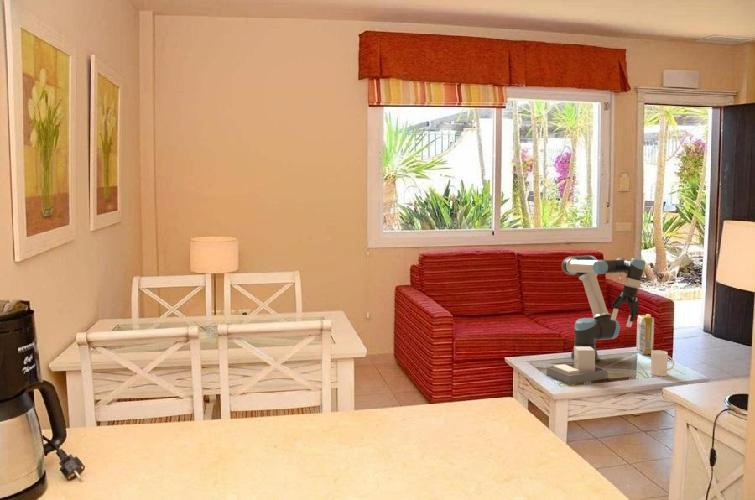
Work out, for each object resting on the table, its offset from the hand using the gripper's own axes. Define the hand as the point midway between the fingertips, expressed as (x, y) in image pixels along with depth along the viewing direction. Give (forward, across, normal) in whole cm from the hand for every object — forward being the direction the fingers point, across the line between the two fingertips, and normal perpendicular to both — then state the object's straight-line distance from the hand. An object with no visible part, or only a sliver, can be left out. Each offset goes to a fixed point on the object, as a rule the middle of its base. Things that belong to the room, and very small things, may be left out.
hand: (620, 323), depth 347 cm
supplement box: (+30, -9, +21) cm, 38 cm away
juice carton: (+19, +22, -40) cm, 50 cm away
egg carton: (+33, -10, +32) cm, 47 cm away
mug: (+20, -18, -20) cm, 34 cm away
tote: (+32, -9, +25) cm, 42 cm away
